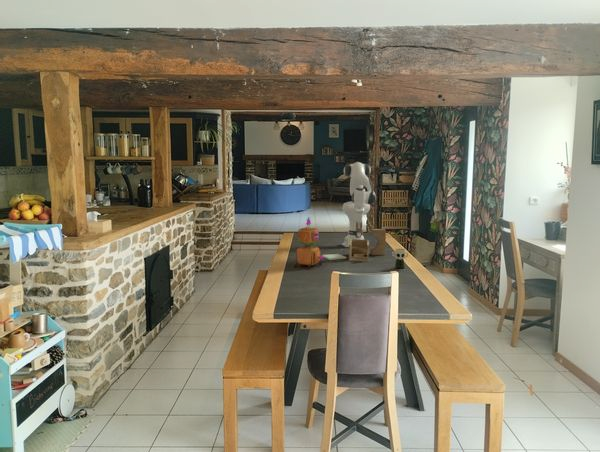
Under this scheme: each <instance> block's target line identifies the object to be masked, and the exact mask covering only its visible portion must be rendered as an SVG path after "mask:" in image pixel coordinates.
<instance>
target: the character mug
mask: <svg viewBox="0 0 600 452" xmlns="http://www.w3.org/2000/svg"><path fill="white" fill-rule="evenodd" d="M391 254H392V255H391V256H392V257H394V258H395V259H396V260H395V265H394V267H395V268H397V269H404V268H405V260H404V259H406V258H408V257H409V252H408V251H407V250H406V249H405V248H395V249H394V251H391Z"/></svg>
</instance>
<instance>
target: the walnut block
mask: <svg viewBox="0 0 600 452" xmlns="http://www.w3.org/2000/svg"><path fill="white" fill-rule="evenodd" d="M362 230H363V221H362V222H361V223H360V228H358V223H357V222H356V233H362Z"/></svg>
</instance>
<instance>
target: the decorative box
mask: <svg viewBox="0 0 600 452" xmlns="http://www.w3.org/2000/svg"><path fill="white" fill-rule="evenodd" d="M305 224H306V227H302V228H299V230H298V232H297V233H298V234H297V238H298V239H297V240H298V243H300V244H303V246H300V247H298V248H297V249H296V253H295V254H296V260H295V261H296V262H295V264H294V265H293V268H294V269H295V268H296V267H297V265H303V266H304V265H305V266H307V270H310V269H311V266H313V265H316V264H319V265H322V264H323V263H322V261H321V259H322V260H323V259H324V257H322V255H321V250H320V248H319V247H318V246H315V245H314V243H317V242H318V240H320V238H319V235H320V233H319V230H318V228H316V227H310V225H311V224H312V222H311V218H310V217H309V216H308V217H307V219H306V223H305Z"/></svg>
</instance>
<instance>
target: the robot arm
mask: <svg viewBox="0 0 600 452" xmlns="http://www.w3.org/2000/svg"><path fill="white" fill-rule="evenodd" d="M371 171H372V170H371V165H369V163H368V164H367V163H362V162H359V161H356V162H354V163H351V164H350V163H348V164H346V165H344V168H343V175H344V176H345V177H347V178H350V182H349V193H350V196H351V201H347V202H344V203H343V205H342V208H341V209H342V212H343V213H344V215H346V217H347V218H348V222H349V225H348V226H349V230H348V233H347V235H346V236H345V238H344V239H343V241H344V242H342V243H341V245H342V246H343V247H345V248H349V243H350V239H362V240H365V237H364V236H363V233H364V232H363V231H364V230H363V229H362V233H356V222H357V223H358V228H360V223H361V222H362V223H363V215H364V214H367V213H369V212H370V210H371V205H374V204H375V203H376V202H377V195H376V193H375V191H374V187H373V185H372V181H371V178H370V177H369V176H370V174H371ZM365 188H366V189H367V191H366V189H365Z"/></svg>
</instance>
